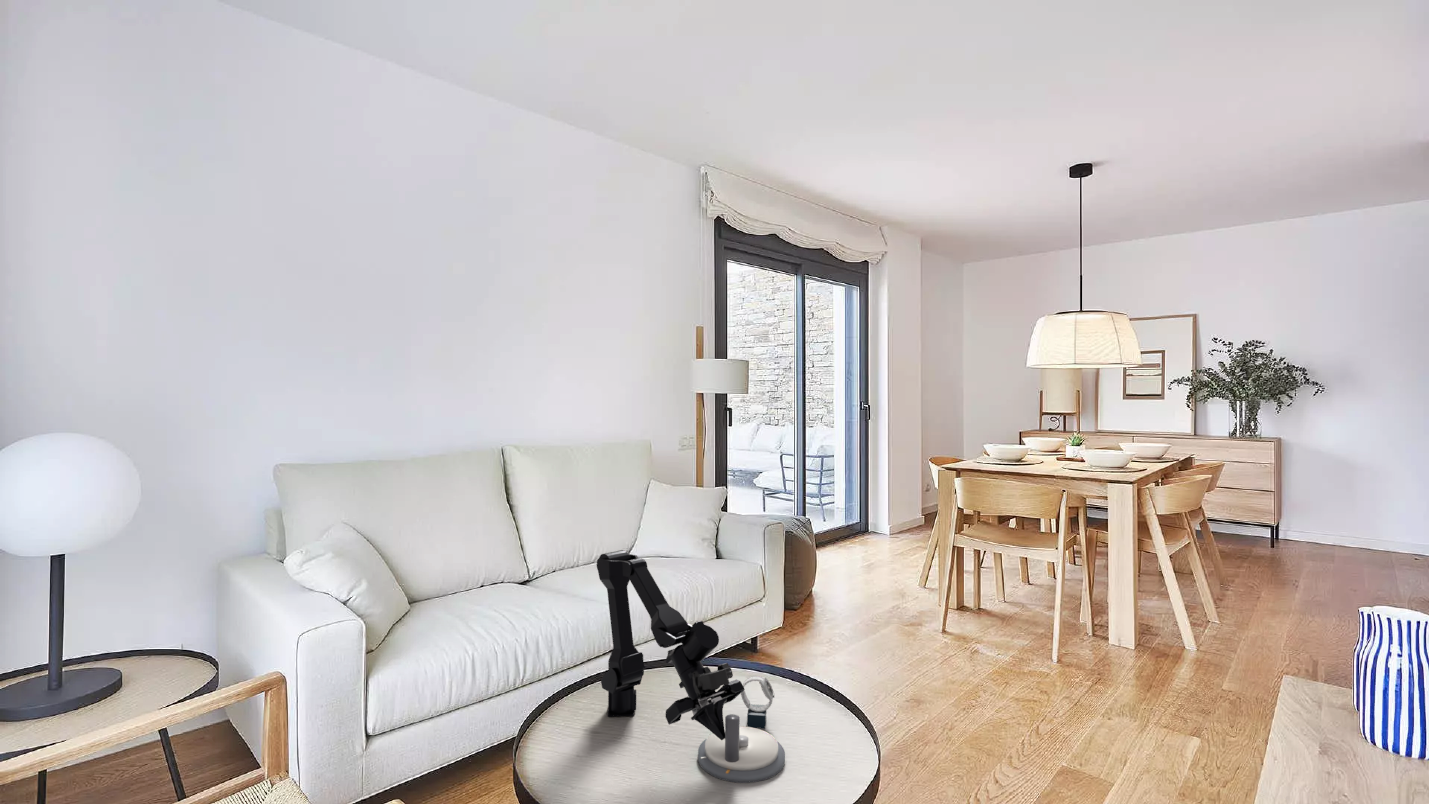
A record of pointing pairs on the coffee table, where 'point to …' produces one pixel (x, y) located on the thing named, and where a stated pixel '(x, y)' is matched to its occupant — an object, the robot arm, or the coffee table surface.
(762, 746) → the dial
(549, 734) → the coffee table surface
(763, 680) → the watch
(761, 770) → the dial base
